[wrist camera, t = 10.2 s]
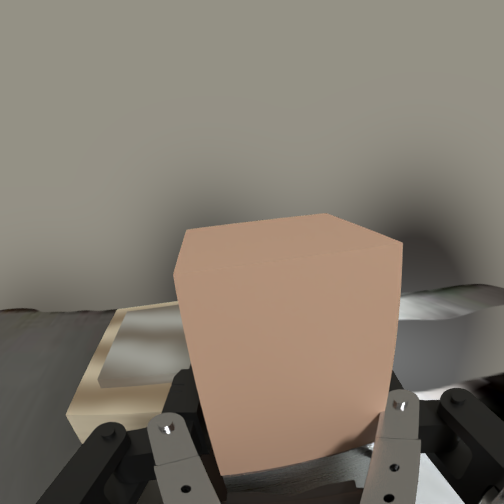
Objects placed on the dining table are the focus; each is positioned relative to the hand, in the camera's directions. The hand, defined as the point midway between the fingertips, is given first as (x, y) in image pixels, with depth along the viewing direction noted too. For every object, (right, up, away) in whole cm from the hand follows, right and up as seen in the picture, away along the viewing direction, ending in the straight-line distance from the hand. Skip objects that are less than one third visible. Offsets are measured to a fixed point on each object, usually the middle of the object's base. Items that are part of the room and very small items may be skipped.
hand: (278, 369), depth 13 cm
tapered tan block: (0, -1, -2) cm, 3 cm away
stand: (-7, -6, +14) cm, 17 cm away
